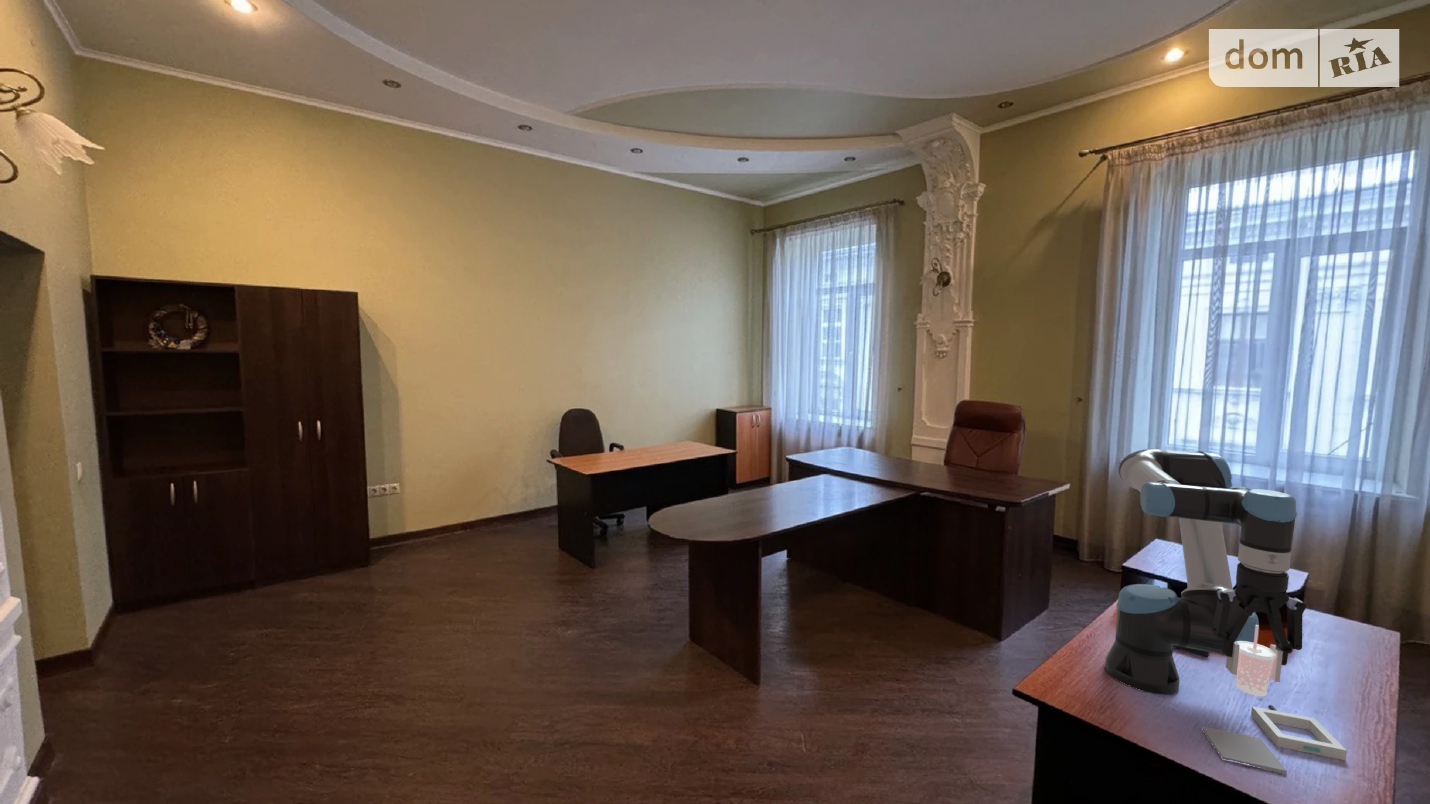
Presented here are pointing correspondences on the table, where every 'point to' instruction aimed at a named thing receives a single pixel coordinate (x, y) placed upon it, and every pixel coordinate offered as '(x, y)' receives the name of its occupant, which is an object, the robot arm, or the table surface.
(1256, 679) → the beverage cup
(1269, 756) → the coaster pad
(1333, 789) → the table surface
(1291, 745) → the beige flat rectangular frame
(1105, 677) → the table surface
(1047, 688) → the table surface
